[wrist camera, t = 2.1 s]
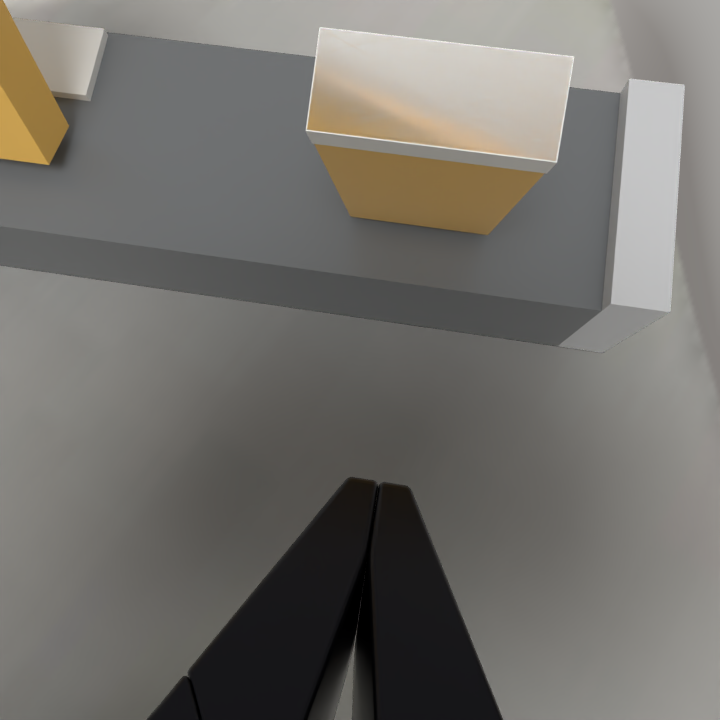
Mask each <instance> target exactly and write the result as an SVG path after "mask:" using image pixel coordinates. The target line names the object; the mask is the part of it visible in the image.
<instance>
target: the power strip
mask: <svg viewBox="0 0 720 720" xmlns="http://www.w3.org/2000/svg"><path fill="white" fill-rule="evenodd" d="M12 19H13V20H14V22H15V24H16V26H17V28H18V30H19V32H20V34H21V36H22V38H23V39H24V41H25V43H26V45H27V47H28V49H29V51H30V53H31V55H32V57H33V58H34V60H35V62H36V64H37V66H38V68H39V70H40V72H41V74H42V75H43V77H44V79H45V81H46V83H47V85H48V87H49V89H50V91H51V93H52V94H53V96H54V98H55V100H56V102H57V104H58V106H59V108H60V110H61V112H62V113H63V115H64V117H65V119H66V121H67V123H68V125H69V127H68V129H67V131H66V133H65V135H64V137H63V139H62V141H61V143H60V145H59V147H58V149H57V151H56V153H55V155H54V157H53V159H52V160H51V162H50V164H49V165H45V164H38V163H30V162H23V161H15V160H8V159H0V265H1V266H8V267H15V268H22V269H29V270H36V271H43V272H49V273H56V274H63V275H70V276H77V277H84V278H91V279H98V280H105V281H111V282H118V283H125V284H132V285H139V286H146V287H153V288H160V289H166V290H173V291H180V292H187V293H194V294H201V295H208V296H215V297H222V298H228V299H235V300H242V301H249V302H256V303H263V304H270V305H277V306H283V307H290V308H297V309H304V310H311V311H318V312H325V313H332V314H339V315H345V316H352V317H359V318H366V319H373V320H380V321H387V322H394V323H400V324H407V325H414V326H421V327H428V328H435V329H442V330H449V331H456V332H462V333H469V334H476V335H483V336H490V337H497V338H504V339H511V340H517V341H524V342H531V343H538V344H545V345H552V346H559V347H566V348H573V349H579V350H586V351H593V352H600V353H604V352H605V351H607V350H609V349H610V348H612V347H614V346H615V345H617V344H619V343H620V342H622V341H623V340H625V339H627V338H628V337H630V336H632V335H633V334H635V333H637V332H638V331H640V330H642V329H643V328H645V327H647V326H648V325H650V324H652V323H653V322H655V321H657V320H658V319H660V318H662V317H663V316H665V315H667V314H668V313H670V312H671V297H672V281H673V265H674V249H675V233H676V216H677V200H678V185H679V168H680V152H681V137H682V121H683V105H684V89H685V85H681V84H673V83H664V82H655V81H647V80H638V79H630V78H629V80H628V82H627V83H626V85H625V87H624V88H623V90H622V92H621V93H614V92H605V91H597V90H589V89H580V88H572V87H569V92H568V98H567V105H566V111H565V117H564V123H563V129H562V135H561V141H560V147H559V154H558V160H557V163H556V164H555V165H554V166H553V167H552V169H551V170H550V171H549V172H548V173H545V174H544V175H543V176H542V177H541V178H540V179H539V180H538V181H537V182H536V183H535V184H534V186H533V187H532V188H531V189H530V190H529V191H528V192H527V193H526V194H525V195H524V196H523V197H522V199H521V200H520V201H519V202H518V203H517V204H516V205H515V206H514V207H513V208H512V209H511V211H510V212H509V213H508V214H507V215H506V216H505V217H504V218H503V219H502V220H501V221H500V222H499V224H498V225H497V226H496V227H495V228H494V229H493V230H492V231H491V232H490V233H489V234H488V235H483V234H476V233H468V232H461V231H454V230H446V229H439V228H431V227H424V226H417V225H409V224H402V223H394V222H387V221H379V220H372V219H365V218H357V217H350V215H349V213H348V211H347V209H346V207H345V205H344V203H343V201H342V199H341V197H340V195H339V193H338V191H337V189H336V187H335V185H334V183H333V181H332V179H331V177H330V175H329V173H328V171H327V169H326V167H325V165H324V163H323V161H322V159H321V157H320V155H319V153H318V151H317V149H316V147H315V145H314V144H312V142H311V140H310V139H309V137H308V135H307V133H306V124H307V117H308V109H309V102H310V95H311V87H312V80H313V73H314V65H315V58H316V57H310V56H302V55H293V54H285V53H277V52H268V51H260V50H251V49H243V48H234V47H226V46H218V45H209V44H201V43H192V42H184V41H175V40H167V39H159V38H150V37H142V36H133V35H125V34H116V33H108V32H106V31H105V29H104V28H95V27H87V26H79V25H70V24H62V23H53V22H45V21H36V20H28V19H19V18H12Z"/></svg>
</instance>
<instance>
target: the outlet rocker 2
mask: <svg viewBox="0 0 720 720" xmlns="http://www.w3.org/2000/svg"><path fill="white" fill-rule="evenodd" d="M573 62H574V56H565V55H557V54H548V53H539V52H531V51H522V50H513V49H505V48H496V47H487V46H479V45H470V44H461V43H453V42H444V41H435V40H427V39H418V38H409V37H401V36H392V35H383V34H375V33H366V32H357V31H349V30H340V29H331V28H323V27H320V29H319V36H318V43H317V51H316V58H315V65H314V73H313V80H312V87H311V95H310V102H309V109H308V117H307V124H306V133H307V135H308V137H309V139H310V140H311V142H312V144H314V145H315V147H316V149H317V151H318V153H319V155H320V157H321V159H322V161H323V163H324V165H325V167H326V169H327V171H328V173H329V175H330V177H331V179H332V181H333V183H334V185H335V187H336V189H337V191H338V193H339V195H340V197H341V199H342V201H343V203H344V205H345V207H346V209H347V211H348V213H349V215H350V217H357V218H365V219H372V220H379V221H387V222H394V223H402V224H409V225H417V226H424V227H431V228H439V229H446V230H454V231H461V232H468V233H476V234H483V235H488V234H489V233H490V232H491V231H492V230H493V229H494V228H495V227H496V226H497V225H498V224H499V222H500V221H501V220H502V219H503V218H504V217H505V216H506V215H507V214H508V213H509V212H510V211H511V209H512V208H513V207H514V206H515V205H516V204H517V203H518V202H519V201H520V200H521V199H522V197H523V196H524V195H525V194H526V193H527V192H528V191H529V190H530V189H531V188H532V187H533V186H534V184H535V183H536V182H537V181H538V180H539V179H540V178H541V177H542V176H543V175H544V174H545V173H548V172H549V171H550V170H551V169H552V167H553V166H554V165H555V164H556V163H557V160H558V154H559V147H560V141H561V135H562V129H563V123H564V117H565V111H566V105H567V98H568V92H569V86H570V80H571V74H572V68H573Z"/></svg>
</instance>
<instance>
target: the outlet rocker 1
mask: <svg viewBox="0 0 720 720" xmlns="http://www.w3.org/2000/svg"><path fill="white" fill-rule="evenodd" d="M68 127H69V125H68V123H67V121H66V119H65V117H64V115H63V113H62V112H61V110H60V108H59V106H58V104H57V102H56V100H55V98H54V96H53V94H52V93H51V91H50V89H49V87H48V85H47V83H46V81H45V79H44V77H43V75H42V74H41V72H40V70H39V68H38V66H37V64H36V62H35V60H34V58H33V57H32V55H31V53H30V51H29V49H28V47H27V45H26V43H25V41H24V39H23V38H22V36H21V34H20V32H19V30H18V28H17V26H16V24H15V22H14V20H13V19H12V17H11V15H10V13H9V11H8V9H7V7H6V5H5V3H4V2H3V0H0V159H8V160H15V161H23V162H30V163H38V164H45V165H49V164H50V162H51V160H52V159H53V157H54V155H55V153H56V151H57V149H58V147H59V145H60V143H61V141H62V139H63V137H64V135H65V133H66V131H67V129H68Z"/></svg>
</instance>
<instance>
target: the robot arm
mask: <svg viewBox="0 0 720 720" xmlns="http://www.w3.org/2000/svg"><path fill="white" fill-rule="evenodd" d="M377 491H378V493H377ZM376 498H377V500H376ZM375 505H376V506H375ZM374 511H375V512H374ZM373 518H374V519H373ZM365 571H366V572H365ZM364 578H365V579H364ZM363 584H364V586H363ZM362 591H363V592H362ZM361 597H362V599H361ZM360 604H361V606H360ZM359 611H360V613H359ZM358 617H359V620H358ZM357 624H358V626H357ZM356 630H357V634H356ZM355 635H356V642H355V654H354V674H353V705H352V720H503V718H502V715H501V713H500V710H499V708H498V705H497V703H496V700H495V698H494V695H493V693H492V690H491V688H490V685H489V683H488V680H487V678H486V675H485V673H484V670H483V668H482V665H481V663H480V660H479V658H478V655H477V653H476V650H475V648H474V645H473V643H472V640H471V638H470V635H469V633H468V630H467V628H466V625H465V623H464V620H463V618H462V615H461V613H460V610H459V608H458V605H457V603H456V600H455V598H454V595H453V593H452V590H451V588H450V585H449V583H448V580H447V578H446V575H445V573H444V570H443V568H442V565H441V563H440V560H439V558H438V555H437V553H436V550H435V548H434V545H433V543H432V540H431V538H430V535H429V533H428V530H427V528H426V525H425V523H424V520H423V518H422V515H421V513H420V510H419V508H418V505H417V503H416V500H415V498H414V495H413V493H412V491H411V489H410V488H409V487H408V486H405V485H399V484H392V483H386V482H383V483H381V484H380V485H379V487H378V484H377V482H376V481H374V480H368V479H362V478H355V477H350V478H348V479H346V480H345V481H344V482H343V484H342V485H341V486H340V487H339V488H338V490H337V491H336V492H335V493H334V495H333V496H332V497H331V498H330V499H329V501H328V502H327V503H326V504H325V505H324V507H323V508H322V509H321V510H320V511H319V513H318V514H317V515H316V516H315V518H314V519H313V520H312V521H311V522H310V524H309V525H308V526H307V527H306V528H305V530H304V531H303V532H302V533H301V534H300V536H299V537H298V538H297V539H296V541H295V542H294V543H293V544H292V545H291V547H290V548H289V549H288V550H287V551H286V553H285V554H284V555H283V556H282V557H281V559H280V560H279V561H278V562H277V564H276V565H275V566H274V567H273V568H272V570H271V571H270V572H269V573H268V574H267V576H266V577H265V578H264V579H263V580H262V582H261V583H260V584H259V585H258V587H257V588H256V589H255V590H254V591H253V593H252V594H251V595H250V596H249V597H248V599H247V600H246V601H245V602H244V603H243V605H242V606H241V607H240V608H239V610H238V611H237V612H236V613H235V614H234V616H233V617H232V618H231V619H230V620H229V622H228V623H227V624H226V625H225V626H224V628H223V629H222V630H221V631H220V633H219V634H218V635H217V636H216V637H215V639H214V640H213V641H212V642H211V643H210V645H209V646H208V647H207V648H206V649H205V651H204V652H203V653H202V654H201V656H200V657H199V658H198V659H197V660H196V662H195V663H194V664H193V665H192V666H191V668H190V669H189V670H188V677H187V676H183V677H182V678H181V679H180V680H179V682H178V683H177V684H176V685H175V686H174V688H173V689H172V690H171V691H170V693H169V694H168V695H167V696H166V697H165V699H164V700H163V701H162V702H161V703H160V705H159V706H158V707H157V708H156V709H155V710H154V712H153V713H152V714H151V715H150V716H149V717H148V718H147V720H334V717H335V714H336V710H337V706H338V703H339V699H340V696H341V692H342V688H343V685H344V681H345V678H346V674H347V670H348V667H349V663H350V659H351V655H352V651H353V646H354V641H355Z"/></svg>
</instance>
